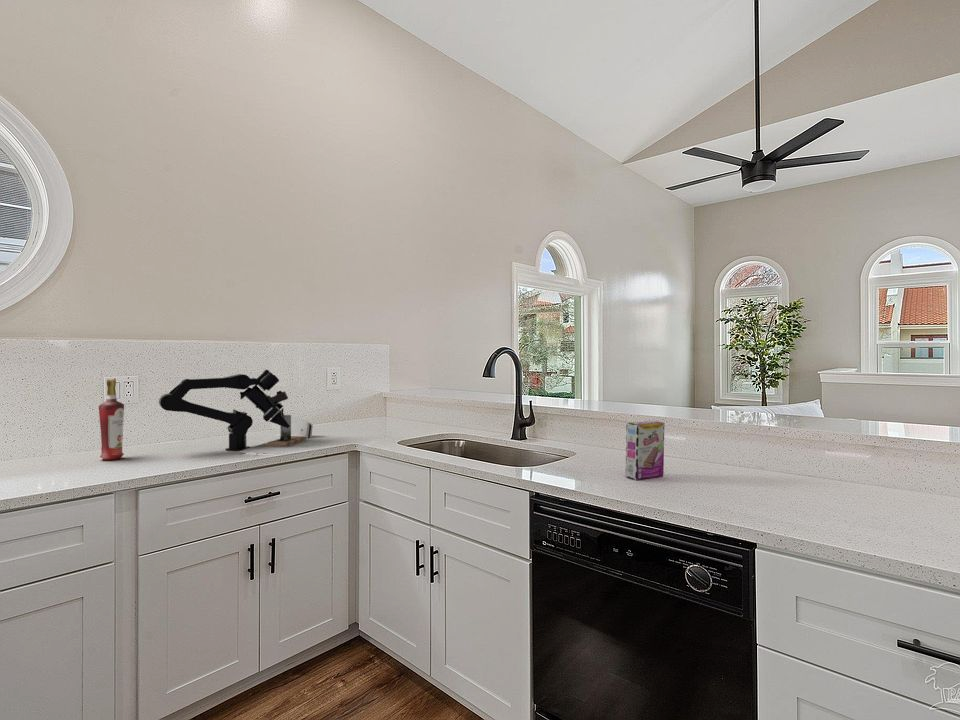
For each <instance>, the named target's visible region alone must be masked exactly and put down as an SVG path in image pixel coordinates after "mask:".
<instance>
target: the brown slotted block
mask: <svg viewBox="0 0 960 720" xmlns="http://www.w3.org/2000/svg"><path fill="white" fill-rule="evenodd" d="M306 441H307V439H306V437H303V436H291V441H280V439H277V440H270V441H268V442H266V446H267V447H268V448H269V447H270V448H271V447H272V448H274V447H275V448H288V447H291V446H294V445H297V444H300V443H303V442H306Z"/></svg>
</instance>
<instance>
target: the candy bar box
mask: <svg viewBox="0 0 960 720" xmlns="http://www.w3.org/2000/svg"><path fill="white" fill-rule="evenodd" d="M625 427H626V436H625V439H626V441H625V442H626V443H625V478H627V479H631V480H634V481H642V480H647V479H648V480H649V479H654V478H661V477H662V478H663V477H664V469H665V464H664V463H665V461H664V459H665V457H664V456H665V422H662V421H657V420H648V421H632V422H631V421H630V422H626V426H625Z"/></svg>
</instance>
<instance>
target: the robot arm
mask: <svg viewBox="0 0 960 720" xmlns="http://www.w3.org/2000/svg"><path fill="white" fill-rule="evenodd" d="M279 382H280V379H279V378H278V377H277V376H276V375H275V374H274V373H272V372H271V371H269V369H265V370H264V371H263V372H262V373H261V374H260V375H259V376H258V377H257V378H255V377H251V378H250V377H249V375H247V374H242V373H239V374H233V375H229V376H224V377H213V378H212V377H211V378H210V377H209V378H192V379H191V378H190V379H189V378H184V379H182V380H181V381H180V382H179V384H178V385H176V386H175V387H173V389H171V390H170V391H169V392H168V393H165V394H163V395H161V396H160V397H159V399H158V404H159V407H160V408H161V409H163V410H165V411H168V412H177V413H178V412H180V413H189V414H193V415H196V416H201V417H205V418H208V419H213V420H216V421H220V422H224V423H227V424H229V425H228V426H227V431H228V432H229V434H228V447H227V448H225V449H224V450H225V451H242V450H247V449H250V447H251V446H247V433H248V431H249V429H250V428H251V427H252V426H253V418H252V417H251V416H250V415H248V412H245V411H239V410H237V409H233V410H232V412H229V411H228V412H227V411H224V410H221V409H220V410H219V409H216V408H212V407H209V406H204V405H201V404H198V403H193V402H190V401H187V400H185V399H184V397H185V396H186V395H187V394H188V392H190V391H191V390H199V389H200V390H202V389H204V390H205V389H219V388H222V389H223V388H226V389H227V388H228V389H233V390H234V389H237V390H243V391H240V392H239V395H240V397H239V399H240V400H243V399H244V398H247V400H249V401H250V402H251V403H252V404H253V405H254V406H255V408H256V409H258V410H260V412H262V414H263V417H262V418H263V420H264V421H265V422H266V423H267V422H269V423H272V424H274V425H275V424H276V425H278V426H279V425H281V426H284V427H286V428H289V427H290V425H289V424H288V423H287V421H286V420H285V419H284V417H283V416H282V415H285V414H284V405H283V404H282V403H281V402H283V401H286V400H289V397H288V394H287V393H286V391H285V390H284V391H282V390H279V391H276V395H273V396H270V395H267V394H266V393H265V391H271V389H272V388H273V387H275V386H276V385H277V384H278V383H279ZM250 386H252V387H250Z"/></svg>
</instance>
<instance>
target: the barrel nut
mask: <svg viewBox="0 0 960 720" xmlns="http://www.w3.org/2000/svg"><path fill="white" fill-rule="evenodd" d="M282 416H283V417H284V419H285V420H286V421H287V423H288V424H289V425H290V427H289V428H286V427H284V426H281V425H280V441H291V419H292V415H291V414H284V415H282Z"/></svg>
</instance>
